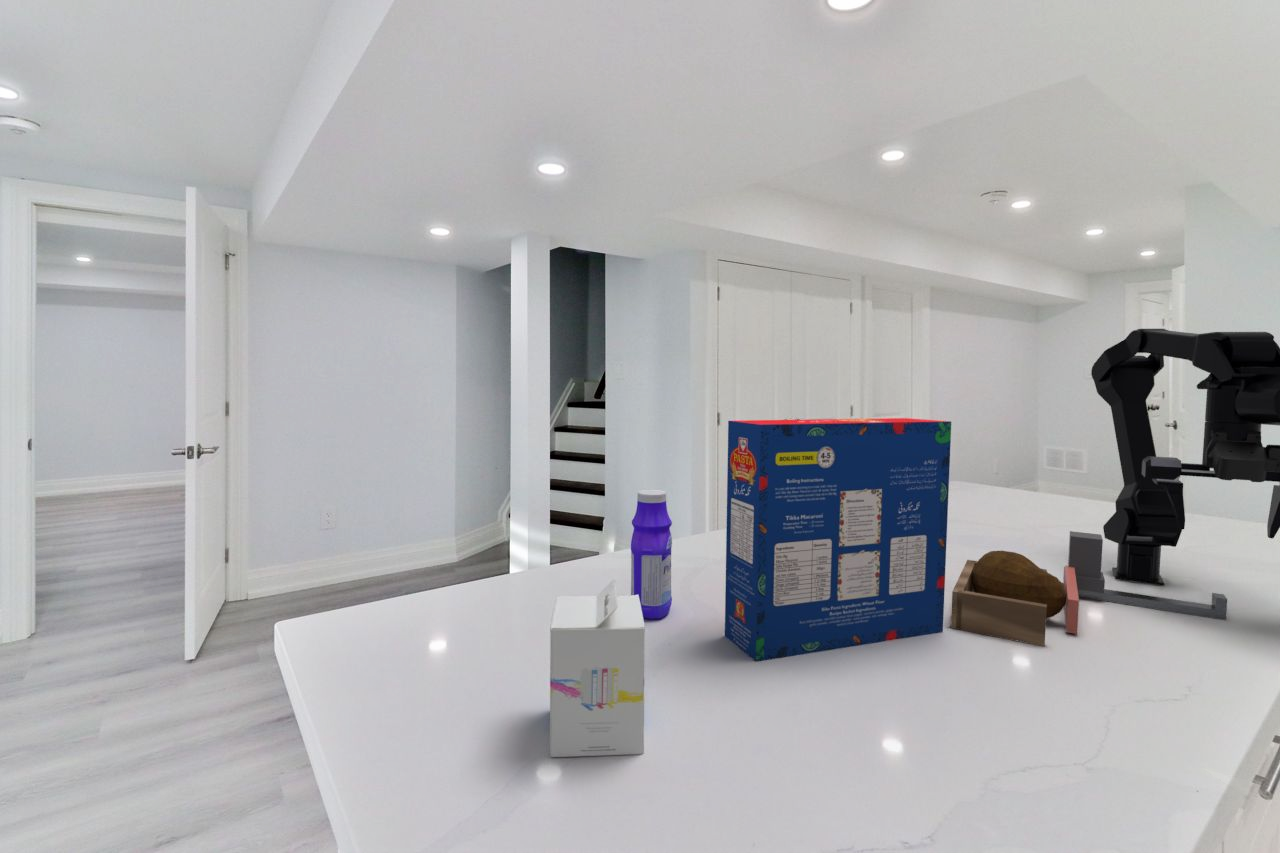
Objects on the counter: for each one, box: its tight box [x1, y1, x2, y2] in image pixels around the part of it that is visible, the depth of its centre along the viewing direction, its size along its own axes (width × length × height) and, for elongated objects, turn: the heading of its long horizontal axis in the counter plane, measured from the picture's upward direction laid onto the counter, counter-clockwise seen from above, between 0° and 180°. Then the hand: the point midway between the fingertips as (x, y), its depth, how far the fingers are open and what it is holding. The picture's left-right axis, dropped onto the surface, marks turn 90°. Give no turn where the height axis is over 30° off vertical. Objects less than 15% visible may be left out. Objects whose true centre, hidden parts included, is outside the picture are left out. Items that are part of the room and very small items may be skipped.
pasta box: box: [724, 417, 952, 663], centre depth 81 cm, size 28×8×28 cm, turn 109°
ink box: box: [549, 579, 646, 758], centre depth 58 cm, size 9×8×13 cm
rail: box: [1041, 568, 1228, 621], centre depth 95 cm, size 2×22×3 cm, turn 57°
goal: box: [950, 559, 1048, 647], centre depth 89 cm, size 18×11×5 cm, turn 147°
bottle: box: [630, 488, 673, 620], centre depth 88 cm, size 7×6×17 cm
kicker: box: [1063, 530, 1106, 635], centre depth 90 cm, size 22×5×9 cm, turn 147°
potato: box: [972, 550, 1067, 620], centre depth 90 cm, size 8×12×9 cm
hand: (1224, 533), depth 88 cm, fingers open, 9 cm apart
